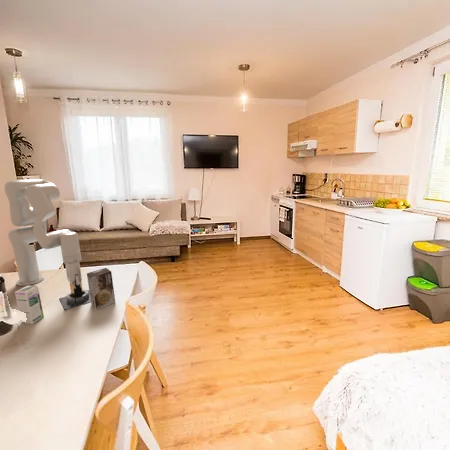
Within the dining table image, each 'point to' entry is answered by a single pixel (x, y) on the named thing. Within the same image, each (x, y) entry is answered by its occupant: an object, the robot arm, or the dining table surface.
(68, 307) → the ring fixture
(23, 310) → the syrup box
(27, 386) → the dining table surface
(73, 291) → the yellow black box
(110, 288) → the coffee box
